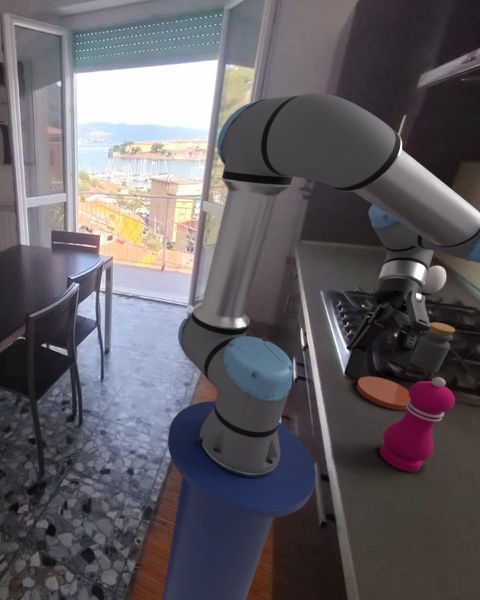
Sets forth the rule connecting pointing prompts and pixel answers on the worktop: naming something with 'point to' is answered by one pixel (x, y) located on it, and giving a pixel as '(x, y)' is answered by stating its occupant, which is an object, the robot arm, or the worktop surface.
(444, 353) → the bottle
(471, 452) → the worktop surface
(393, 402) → the trivet
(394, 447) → the pepper mill
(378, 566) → the worktop surface
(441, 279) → the egg
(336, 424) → the worktop surface
